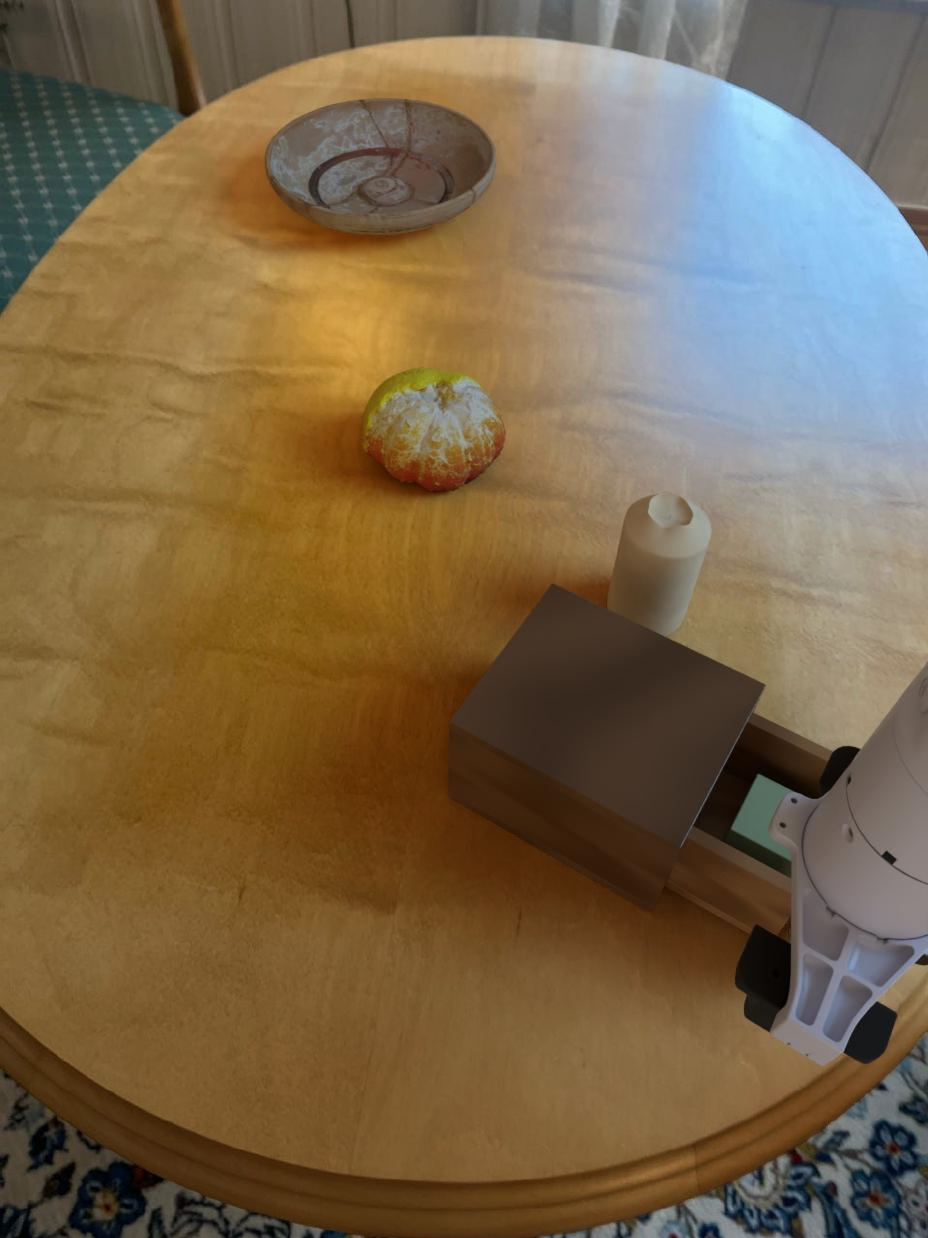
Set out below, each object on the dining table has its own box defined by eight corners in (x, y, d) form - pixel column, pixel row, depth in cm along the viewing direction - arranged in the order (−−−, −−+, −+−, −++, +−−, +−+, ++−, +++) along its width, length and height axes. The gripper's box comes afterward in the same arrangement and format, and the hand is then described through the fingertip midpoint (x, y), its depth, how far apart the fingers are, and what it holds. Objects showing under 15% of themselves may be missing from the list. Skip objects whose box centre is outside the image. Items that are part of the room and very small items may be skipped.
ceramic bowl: (231, 179, 103) (223, 131, 99) (420, 124, 111) (419, 78, 108) (337, 286, 91) (333, 237, 88) (539, 216, 100) (543, 169, 96)
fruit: (359, 503, 73) (351, 403, 69) (370, 444, 82) (364, 351, 77) (507, 503, 73) (509, 402, 69) (502, 444, 82) (504, 351, 77)
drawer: (939, 868, 56) (992, 814, 50) (885, 1028, 50) (938, 987, 45) (673, 732, 61) (695, 670, 56) (597, 864, 55) (614, 809, 50)
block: (805, 840, 55) (827, 808, 52) (780, 897, 53) (802, 867, 50) (740, 806, 57) (757, 772, 54) (713, 860, 55) (729, 829, 51)
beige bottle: (699, 626, 67) (733, 527, 59) (628, 649, 66) (654, 551, 58) (660, 570, 70) (688, 468, 63) (592, 591, 69) (612, 490, 61)
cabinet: (730, 761, 61) (766, 684, 54) (650, 914, 55) (680, 848, 48) (541, 665, 65) (552, 582, 58) (447, 796, 59) (448, 721, 52)
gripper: (881, 612, 37) (773, 779, 48) (738, 923, 30) (648, 1040, 40) (1069, 698, 35) (913, 853, 46) (968, 1057, 28) (809, 1142, 38)
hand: (799, 946), depth 43 cm, fingers open, 7 cm apart
